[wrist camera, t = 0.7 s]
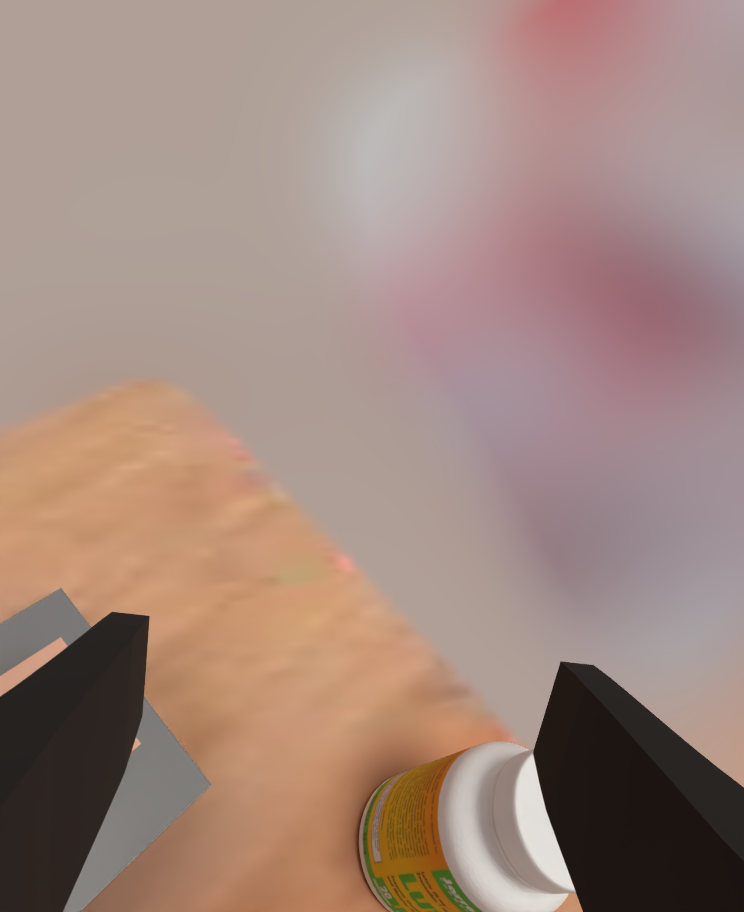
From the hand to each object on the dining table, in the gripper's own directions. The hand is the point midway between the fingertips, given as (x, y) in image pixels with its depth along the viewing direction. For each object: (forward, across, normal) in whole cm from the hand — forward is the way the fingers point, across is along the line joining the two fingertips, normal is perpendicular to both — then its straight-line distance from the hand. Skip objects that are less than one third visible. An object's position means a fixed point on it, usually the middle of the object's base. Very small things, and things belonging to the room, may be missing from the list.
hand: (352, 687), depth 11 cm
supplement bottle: (+11, -5, +16) cm, 20 cm away
